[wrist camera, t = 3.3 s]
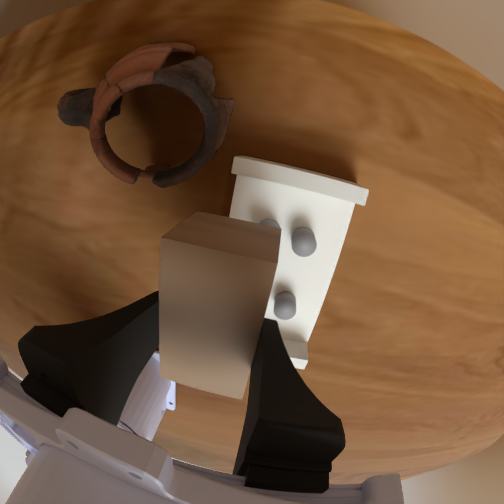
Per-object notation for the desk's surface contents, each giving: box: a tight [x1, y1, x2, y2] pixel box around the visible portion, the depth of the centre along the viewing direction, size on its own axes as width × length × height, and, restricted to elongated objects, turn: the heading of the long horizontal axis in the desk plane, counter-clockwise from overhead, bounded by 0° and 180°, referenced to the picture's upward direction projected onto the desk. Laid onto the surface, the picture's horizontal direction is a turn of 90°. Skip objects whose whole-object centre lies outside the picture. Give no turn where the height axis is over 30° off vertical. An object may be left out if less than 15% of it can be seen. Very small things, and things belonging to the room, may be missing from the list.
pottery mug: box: [57, 42, 234, 188], centre depth 15 cm, size 12×10×8 cm
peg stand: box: [229, 156, 369, 369], centre depth 19 cm, size 14×8×3 cm, turn 169°
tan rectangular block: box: [159, 211, 282, 400], centre depth 14 cm, size 8×4×4 cm, turn 169°
